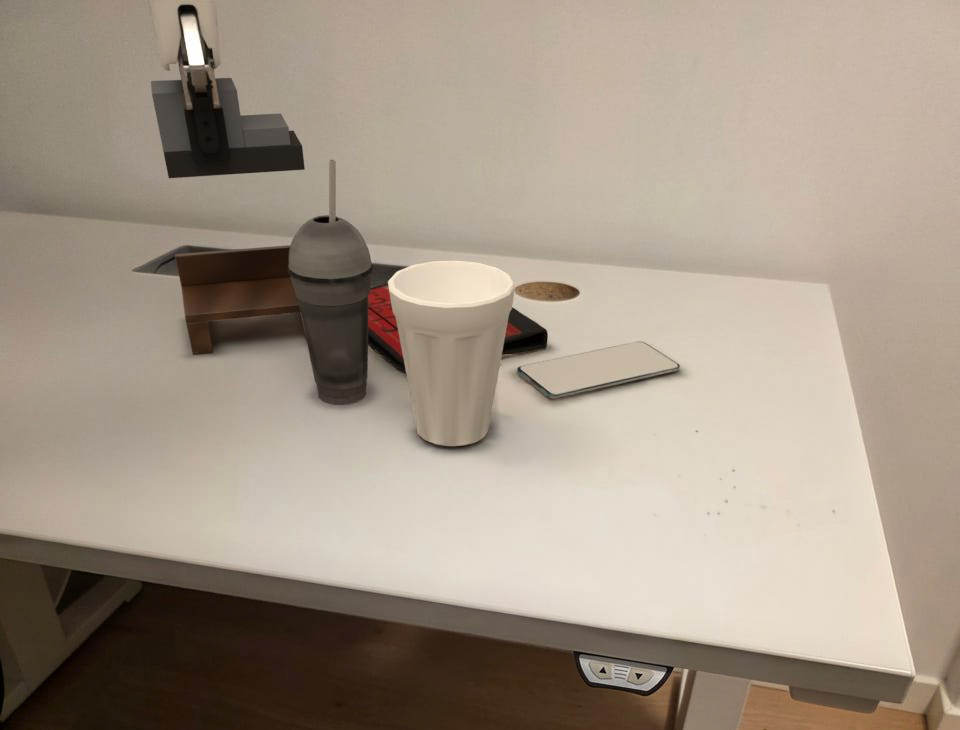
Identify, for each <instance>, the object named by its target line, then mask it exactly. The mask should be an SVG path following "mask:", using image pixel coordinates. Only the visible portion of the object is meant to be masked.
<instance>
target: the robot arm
mask: <svg viewBox="0 0 960 730" xmlns="http://www.w3.org/2000/svg"><path fill="white" fill-rule="evenodd" d="M147 2H148V7H149V12H150V16H151V21H152V27H153V28H152V29H153V32H154V38H155V42H156V48H157V53H158V58H159V62H160V66H161V68H163V69H164V70H165V71H167V72H170V71H171V69H170V65H177V64H178V71H179V76H180V80H182V85H183V90H184V96H185V101H186V107H187V109H184V113H185V118H186V124H187V129H188V135H189V140H190V146H191V151H192V157H193V160H194V161H196V162H210V161H226V160H229V158H230V152H229V145H228V139H227V132H226V126H225V119H224V113H223V108H222V107H220V104H219V98H218V92H217V86H216V80H215V78H216V75H215V70H216V69H217V68H218V67H220V65H221V63H222V62H221V61H222V60H221V47H220V34H219V23H218V13H217V12H218V11H217V4H216V0H147ZM190 92H191V94H190ZM191 97H192V99H191ZM213 107H214V108H213ZM193 108H194V109H193Z"/></svg>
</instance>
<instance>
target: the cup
mask: <svg viewBox="0 0 960 730" xmlns="http://www.w3.org/2000/svg"><path fill="white" fill-rule="evenodd" d="M387 283H388V286H389V293H390V299H391V305H392V310H393V313H394V315H395V317H396V322H397V327H398V332H399V338H400V343H401V348H402V353H403V358H404V364H405V369H406V371H405V374H406V378H407V385H408V390H409V394H410V399H411V405H412V410H413V415H414V420H415V425H416V431H417V434H418V436H420V437H421V438H422V439H423V440H424V441H427V442H429V443H432V444H434V445H438V446H444V447H458V446H459V447H461V446H467V445H471V444H474V443H477V442H479V441H480V440H482V439H484V438H485V437H486V436H487V433H488V431H489V429H490V423H491V418H492V413H493V406H494V400H495V394H496V390H497V384H498V379H499V373H500V369H501V368H500V367H501V363H502V362H501V361H502V357H503V355H502V351H503V345H504V340H505V334H506V328H507V323H508V317H509V313H510V311H511V309H512V307H513V304H514V298H515V297H514V296H515V291H516V289H515V288H516V285H515V283H514V281H513V278H512V277H511V275H510V274H509V273H507V272H505V271H503V270H501V269H500V268H498V267H495V266H491V265H487V264H484V263H480V262H475V261H474V262H473V261H465V260H433V261H428V262H421V263H417V264H416V263H415V264H411V265H409V266H407V267H404V268H402V269H400V270H397V271H396V272H395V273H394V274H393V275H392V277H390V278H389V280H388V281H387Z"/></svg>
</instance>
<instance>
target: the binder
mask: <svg viewBox="0 0 960 730" xmlns="http://www.w3.org/2000/svg"><path fill="white" fill-rule="evenodd" d="M548 339H549V333H548V330H547V328H545V327H543V326H542V325H540V324H539V323H538V322H536V321H535V320H533V319H531V318H530V317H528V316H526V315H525V314H523V313H522V312H520V311H519V310H517V309H516V308H515V307H513V306H512V309H511V311H510V313H509V317H508V323H507V328H506V334H505V340H504V345H503V351H502V356H507V355H514V354H520V353H521V354H522V353H528V352H533V351H539V350H544V349H546V348H547V346H548V341H549V340H548ZM369 346H370V347H371V349H373V350H374V351H375V352H377V353H378V354H379V355H380V356H381V357H383V358H384V359H385V360H387V361H388V362H389V363H391V364H392V365H393V366H395V367H396V368H398V369H399V370H401V371H403V372H406V369H405V364H404V358H403V353H402V348H401V343H400V338H399V332H398V327H397V322H396V317H395V315H394V313H393V310H392V305H391V299H390V293H389V286H388V282H387V283H384V284H380V285H375V286H373V287H372V286H371V288H370V292H369V315H368V347H369Z"/></svg>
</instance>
